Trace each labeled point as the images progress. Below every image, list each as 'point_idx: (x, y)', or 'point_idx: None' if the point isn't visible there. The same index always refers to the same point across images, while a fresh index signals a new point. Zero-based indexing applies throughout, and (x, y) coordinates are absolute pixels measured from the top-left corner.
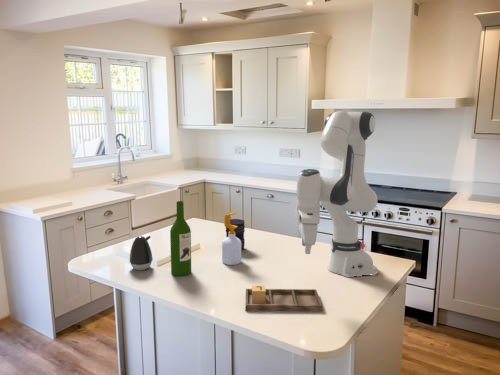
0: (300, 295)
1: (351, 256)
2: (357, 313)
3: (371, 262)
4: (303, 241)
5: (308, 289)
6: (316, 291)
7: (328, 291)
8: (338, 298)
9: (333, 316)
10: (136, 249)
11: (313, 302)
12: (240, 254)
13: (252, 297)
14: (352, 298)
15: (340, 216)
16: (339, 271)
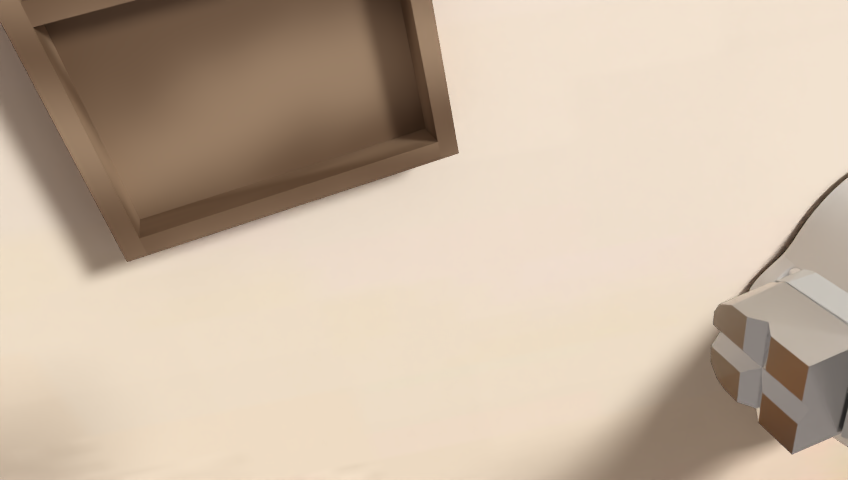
0: (363, 6)
1: None
2: (207, 444)
3: (846, 445)
4: (826, 379)
5: (443, 85)
6: (416, 162)
7: (516, 215)
8: (410, 299)
9: (77, 327)
10: None
11: (249, 150)
12: None
13: None
14: (431, 375)
15: None
16: (813, 246)
